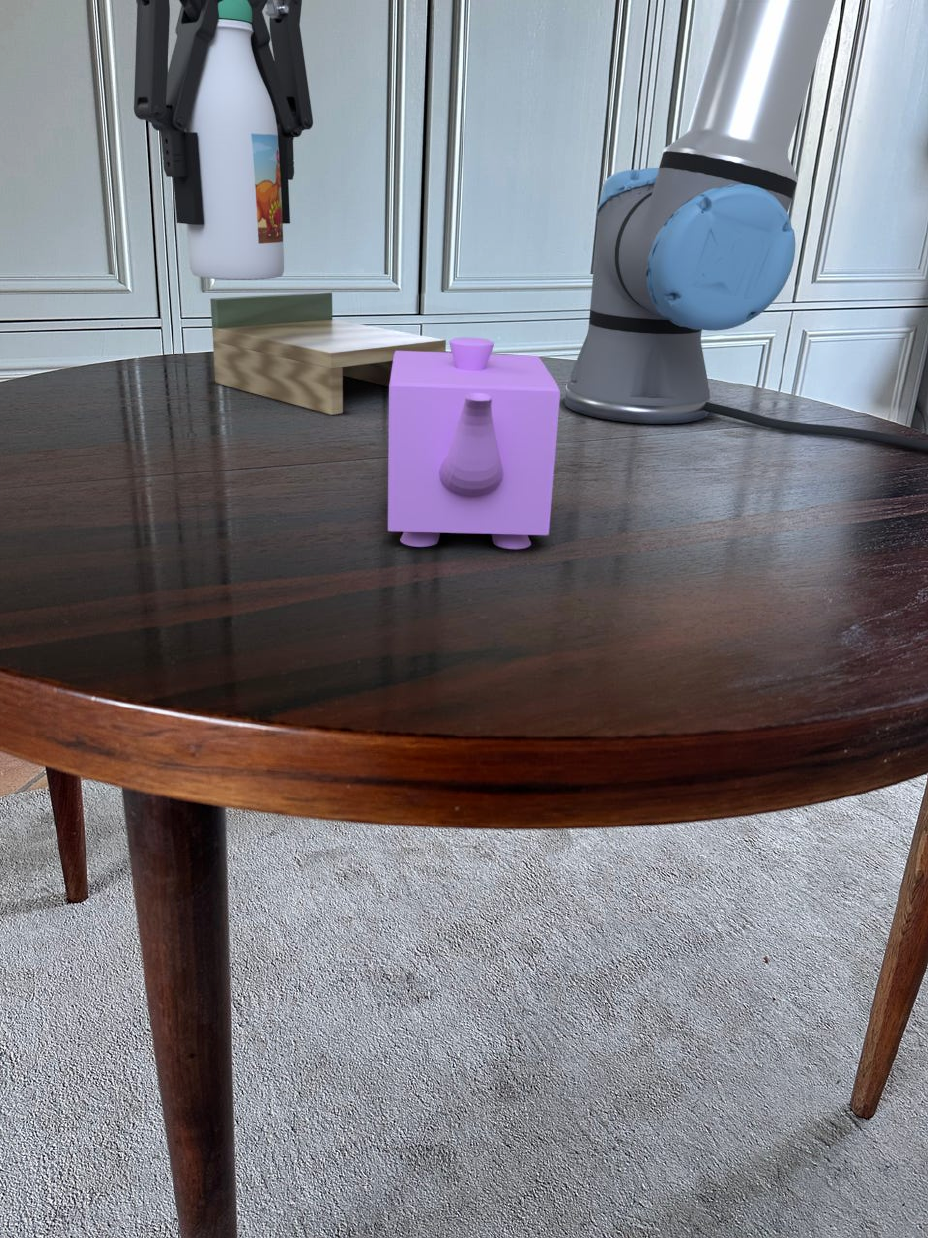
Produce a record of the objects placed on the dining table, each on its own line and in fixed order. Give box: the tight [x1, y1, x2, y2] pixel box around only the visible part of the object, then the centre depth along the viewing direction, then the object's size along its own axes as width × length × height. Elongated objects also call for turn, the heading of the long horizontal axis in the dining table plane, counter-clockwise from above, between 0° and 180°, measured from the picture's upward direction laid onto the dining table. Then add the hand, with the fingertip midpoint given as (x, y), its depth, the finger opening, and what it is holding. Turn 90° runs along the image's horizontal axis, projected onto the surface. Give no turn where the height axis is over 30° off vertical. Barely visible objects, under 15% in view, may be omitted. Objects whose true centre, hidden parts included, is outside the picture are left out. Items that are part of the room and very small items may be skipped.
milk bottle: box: [185, 0, 285, 281], centre depth 79 cm, size 8×8×20 cm
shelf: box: [209, 291, 447, 416], centre depth 107 cm, size 20×16×9 cm
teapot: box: [387, 336, 561, 550], centre depth 64 cm, size 20×10×12 cm, turn 2°
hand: (235, 222), depth 81 cm, fingers closed on milk bottle, 8 cm apart
